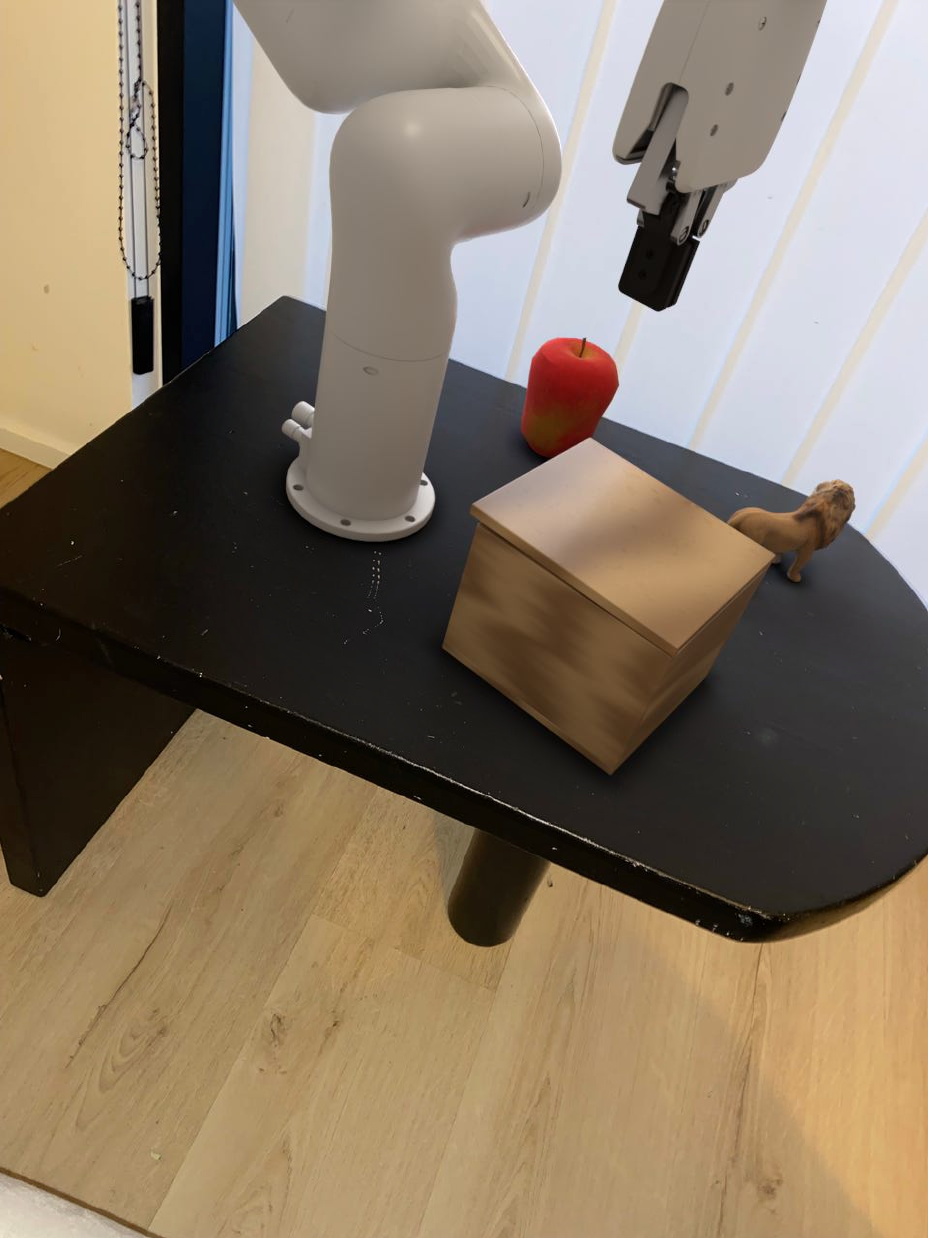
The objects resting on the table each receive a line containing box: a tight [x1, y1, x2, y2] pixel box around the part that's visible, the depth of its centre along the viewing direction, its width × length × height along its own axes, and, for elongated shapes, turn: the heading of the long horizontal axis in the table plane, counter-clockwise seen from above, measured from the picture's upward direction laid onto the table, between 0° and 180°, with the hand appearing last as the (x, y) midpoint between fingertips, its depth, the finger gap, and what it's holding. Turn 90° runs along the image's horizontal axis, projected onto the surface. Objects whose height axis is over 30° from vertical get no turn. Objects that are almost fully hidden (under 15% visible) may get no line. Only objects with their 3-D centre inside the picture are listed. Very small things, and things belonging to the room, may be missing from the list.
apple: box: [520, 336, 620, 459], centre depth 89 cm, size 9×8×12 cm
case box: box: [441, 521, 771, 776], centre depth 68 cm, size 15×14×12 cm
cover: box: [469, 437, 776, 657], centre depth 64 cm, size 16×14×1 cm
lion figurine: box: [725, 478, 856, 583], centre depth 83 cm, size 15×5×9 cm, turn 116°
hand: (645, 298), depth 55 cm, fingers closed
